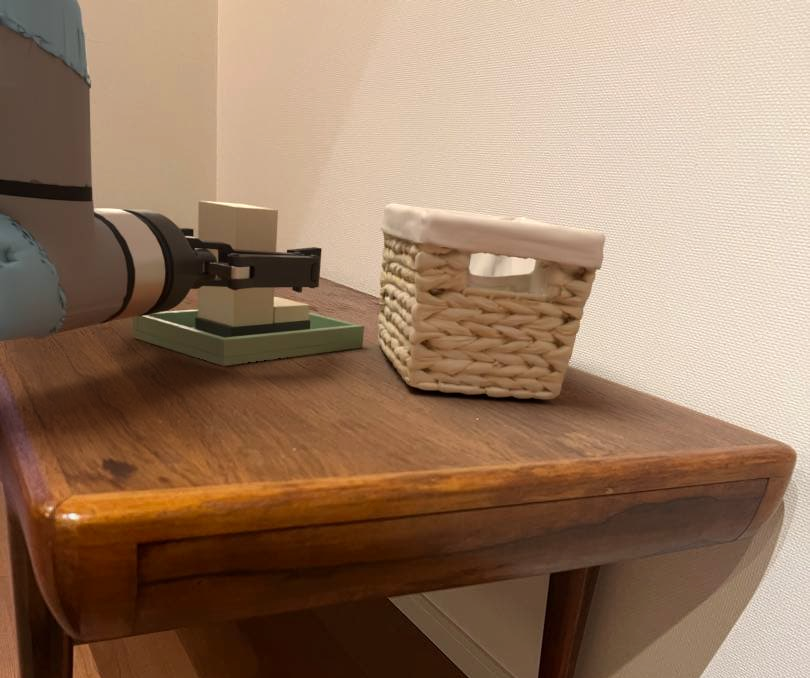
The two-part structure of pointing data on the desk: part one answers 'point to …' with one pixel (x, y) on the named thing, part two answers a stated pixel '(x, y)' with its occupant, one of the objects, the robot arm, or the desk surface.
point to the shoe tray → (245, 338)
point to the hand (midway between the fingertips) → (252, 252)
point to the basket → (483, 300)
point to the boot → (248, 306)
